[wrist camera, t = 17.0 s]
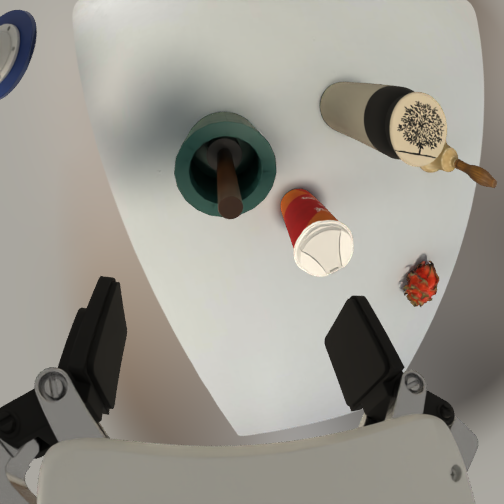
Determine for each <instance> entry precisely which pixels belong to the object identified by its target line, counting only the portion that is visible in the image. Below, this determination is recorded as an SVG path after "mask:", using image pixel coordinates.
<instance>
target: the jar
mask: <svg viewBox="0 0 504 504" xmlns="http://www.w3.org/2000/svg"><path fill="white" fill-rule="evenodd" d="M223 136H230V137H235V138H236V139H237V140H238V142H239V145H240V147H241V150H242V160H241V162H240V164H239V165H238V166H237V167H236V168H235V171H236V176H237V180H238V185H239V189H240V194H241V198H242V203H243V211H242V213H241V214H243V213H245V212H247V211H249V210H252V209H253V208H255V207H256V206H257V205H258V204H259V203H261V202H262V201H263V200H264V199H265V198H266V196H267V195H268V193H269V191H270V190H271V188H272V186H273V183H274V180H275V176H276V160H275V155H274V153H273V151H272V148H271V146H270V144H269V142H268V141H267V140H266V139H265V138H264V137H263V136H262V135H261V134H260V133H259V132H258V131H257V130H256V129H255V127H254V126H253V125H252V124H251V123H250V122H249V121H248V120H246V119H245V118H243V117H242V116H240V115H237V114H234V113H230V112H218V113H213V114H210V115H208V116H206V117H204V118H203V119H201V120H200V121H199V122H198V123H197V124H196V125H195V126H194V127H193V128H192V129H191V131H190V133H189V134H188V136H187V137H186V139H185V141H184V142H183V144H182V146H181V148H180V150H179V152H178V154H177V156H176V162H175V170H174V174H175V178H176V183H177V187H178V189H179V190H180V192H181V194H182V195H183V197H184V199H185V200H186V201H187V202H188V203H189V204H191V205H192V206H193V207H194V208H195V209H197V210H199V211H201V212H203V213H206V214H208V215H211V216H219V217H222V216H221V215H220V214H219V212H218V194H217V171H216V170H214V169H213V168H212V167H211V166H210V165H209V163H208V161H207V157H206V154H207V147H208V143H209V141H210V140H211V139H213V138H217V137H223ZM241 214H240V215H241Z"/></svg>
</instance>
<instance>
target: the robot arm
mask: <svg viewBox="0 0 504 504" xmlns="http://www.w3.org/2000/svg"><path fill="white" fill-rule="evenodd" d="M19 46H20V33H19V30H18V28H17V27H16V26H15V25H13V24H3V25H1V26H0V83H1V82H2V81H3V80H4V79H5V77H6V76H7V75H8V73H9V72H10V70H11V68H12V67H13V65H14V62H15V60H16V57H17V54H18V51H19ZM126 336H127V327H126V321H125V315H124V309H123V303H122V296H121V289H120V283H119V282H116V281H115V278H111V277H103V276H101V277H100V278H99V280H98V282H97V284H96V287H95V289H94V291H93V294H92V297H91V299H90V301H89V304H88V306H87V308H80V309H79V310H78V312H77V315H76V317H75V320H74V323H73V325H72V328H71V330H70V333H69V336H68V338H67V341H66V344H65V347H64V350H63V353H62V356H61V359H60V362H59V366H58V368H54V367H50V368H47V369H44V370H43V371H42V372H40V374H39V375H38V376H37V378H36V380H35V389H33V390H31V391H29V392H28V393H26V394H24V395H22V396H20V397H19V398H17V399H15V400H13V401H11V402H10V403H8V404H6V405H4V406H3V407H1V408H0V504H475V500H474V496H473V492H472V488H471V484H470V481H469V478H468V474H467V471H468V469H469V467H470V465H471V462H472V460H473V458H474V455H475V453H476V451H477V448H478V439H477V437H476V436H475V434H473V432H472V431H471V430H469V428H468V427H467V426H466V425H465V424H464V423H463V422H462V421H461V420H460V419H459V418H458V417H455V418H454V410H453V408H452V407H451V405H450V404H449V403H448V402H447V401H445V400H443V399H441V398H440V397H437V396H436V395H434V394H432V393H430V392H429V391H427V390H426V389H427V386H426V381H425V379H424V378H423V376H422V375H421V374H420V373H418V372H417V371H414V370H407V371H405V372H404V373H403V372H402V370H403V369H404V366H403V364H402V362H401V360H400V358H399V356H398V354H397V352H396V350H395V348H394V347H393V345H392V343H391V341H390V339H389V337H388V335H387V334H386V332H385V330H384V328H383V326H382V325H381V323H380V321H379V319H378V318H377V316H376V314H375V312H374V311H373V309H372V307H371V306H370V304H369V302H368V300H367V299H366V297H364V296H351V297H350V299H348V300H347V301H346V303H345V304H344V306H343V308H342V310H341V312H340V313H339V315H338V317H337V319H336V320H335V322H334V324H333V326H332V327H331V329H330V331H329V332H328V334H327V336H326V337H325V346H326V349H327V352H328V354H329V357H330V360H331V363H332V365H333V368H334V371H335V373H336V376H337V379H338V382H339V384H340V387H341V390H342V393H343V396H344V399H345V401H346V404H347V405H348V406H350V409H351V411H356V410H361V409H362V408H363V410H364V414H363V416H362V419H361V422H360V424H359V427H358V428H356V429H352V430H348V431H344V432H339V433H335V434H330V435H325V436H319V437H314V438H308V439H302V440H294V441H287V442H278V443H269V444H257V445H240V446H187V445H169V444H156V443H146V442H137V441H128V440H118V439H110V438H109V436H108V435H107V433H106V432H105V430H104V429H103V427H102V426H101V424H100V423H99V422H100V421H101V420H102V414H109V409H113V408H114V405H115V398H116V390H117V384H118V378H119V373H120V367H121V361H122V356H123V351H124V346H125V341H126ZM44 455H45V456H44ZM42 456H44V458H43V460H42V464H41V467H40V472H39V478H38V486H37V497H36V496H35V495H34V494H33V493H32V492H31V491H30V490H29V489H28V487H27V485H26V483H25V474H26V472H27V470H28V469H29V468H30V466H29V464H30V463H31V462H32V460H33V459H34V458H36V459H37V458H40V457H42Z"/></svg>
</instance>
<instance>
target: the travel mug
mask: <svg viewBox="0 0 504 504" xmlns="http://www.w3.org/2000/svg"><path fill="white" fill-rule="evenodd" d="M320 109H321V114H322V117H323V119H324V120H325V122H326V123H327V124H328V125H329V126H330V127H331V128H332V129H334V130H336V131H338V132H340V133H343V134H345V135H347V136H349V137H351V138H353V139H356V140H358V141H360V142H362V143H364V144H366V145H368V146H370V147H372V148H374V149H376V150H378V151H380V152H382V153H383V154H385V155H387V156H389V157H391V158H394V159H401V160H402V161H404V162H405V163H406V164H408V165H411V166H415V167H421V166H425V165H428V164H430V163H431V162H433V161H434V160H435V159H436V158H437V157H438V156H439V154H440V153H441V151H442V149H443V147H444V144H445V141H446V135H447V124H446V118H445V115H444V112H443V110H442V108H441V106H440V105H439V104H438V102H437V101H436V100H435V99H434V98H433V97H431V96H430V95H428V94H426V93H422V92H414V91H412V90H410V89H408V88H405V87H399V86H390V85H381V84H370V83H354V82H338V83H335V84H333V85H331V86H330V87H328V88H327V89H326V91H325V92H324V94H323V96H322V98H321V103H320Z"/></svg>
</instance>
